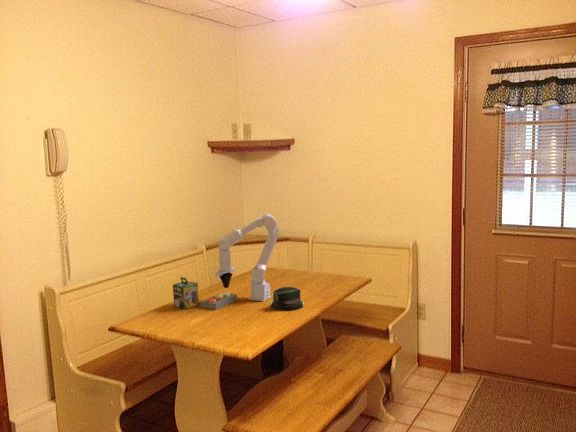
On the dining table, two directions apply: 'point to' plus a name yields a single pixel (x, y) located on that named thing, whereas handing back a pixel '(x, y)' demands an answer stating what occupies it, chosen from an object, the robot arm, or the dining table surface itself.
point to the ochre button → (219, 296)
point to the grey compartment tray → (219, 302)
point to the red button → (212, 300)
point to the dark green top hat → (286, 299)
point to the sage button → (226, 294)
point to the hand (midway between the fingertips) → (226, 287)
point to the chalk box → (185, 294)
